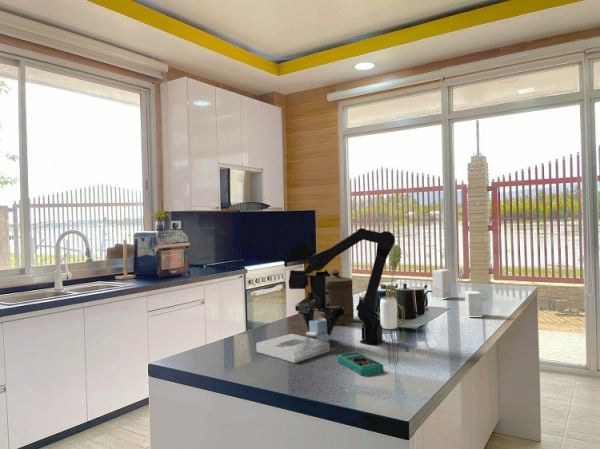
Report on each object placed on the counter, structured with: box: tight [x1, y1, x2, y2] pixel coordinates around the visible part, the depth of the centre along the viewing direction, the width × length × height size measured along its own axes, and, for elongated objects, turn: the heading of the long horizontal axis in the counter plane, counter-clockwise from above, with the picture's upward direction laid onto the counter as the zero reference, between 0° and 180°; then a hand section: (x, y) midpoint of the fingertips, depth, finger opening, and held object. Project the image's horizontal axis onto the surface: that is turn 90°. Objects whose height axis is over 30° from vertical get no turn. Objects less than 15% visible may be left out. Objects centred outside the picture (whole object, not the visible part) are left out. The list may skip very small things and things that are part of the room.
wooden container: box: [318, 269, 355, 326], centre depth 191 cm, size 15×15×22 cm
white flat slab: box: [255, 333, 331, 364], centre depth 147 cm, size 18×16×3 cm
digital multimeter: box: [337, 351, 384, 377], centre depth 130 cm, size 7×15×3 cm, turn 23°
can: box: [379, 295, 398, 330], centre depth 177 cm, size 6×6×12 cm
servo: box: [305, 318, 330, 342], centre depth 159 cm, size 4×10×8 cm, turn 135°
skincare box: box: [432, 268, 452, 298], centre depth 241 cm, size 8×7×16 cm
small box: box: [464, 290, 484, 317], centre depth 195 cm, size 8×6×10 cm
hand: (319, 333), depth 159 cm, fingers open, 9 cm apart
